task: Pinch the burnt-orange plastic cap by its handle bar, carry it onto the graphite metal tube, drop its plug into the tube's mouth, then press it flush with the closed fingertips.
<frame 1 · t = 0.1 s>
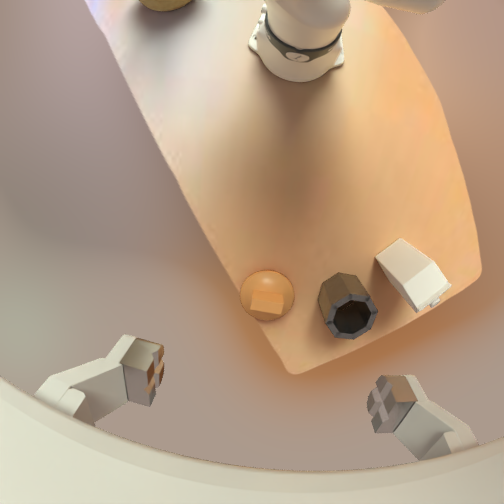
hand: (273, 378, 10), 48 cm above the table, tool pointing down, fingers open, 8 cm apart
graphite tube: (341, 294, 61), on the table
milk carton: (394, 259, 58), on the table
orange cap: (267, 290, 61), on the table
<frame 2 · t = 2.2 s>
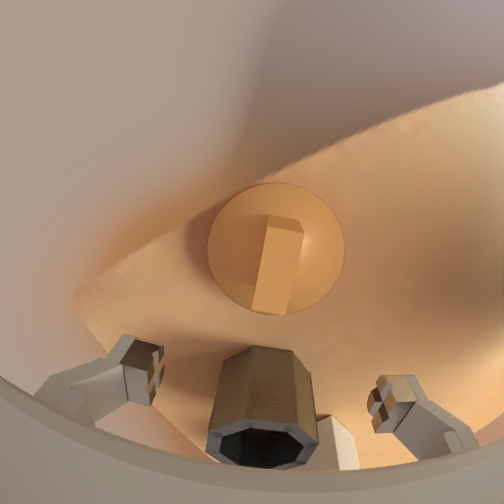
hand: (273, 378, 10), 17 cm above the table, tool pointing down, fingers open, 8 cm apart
graphite tube: (264, 380, 31), on the table
milk carton: (320, 434, 34), on the table
orange cap: (275, 243, 26), on the table
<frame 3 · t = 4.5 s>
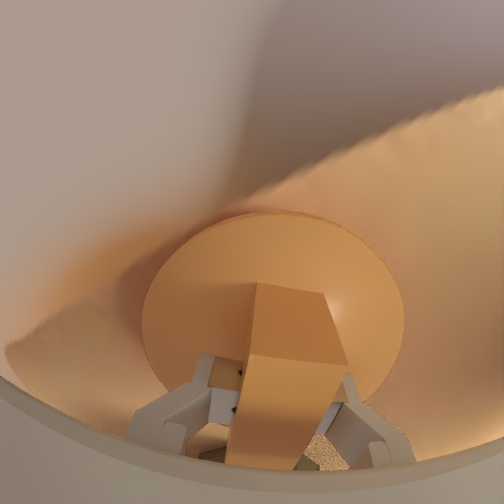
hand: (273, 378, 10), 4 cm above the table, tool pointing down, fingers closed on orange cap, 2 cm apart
graphite tube: (256, 472, 19), on the table
orange cap: (273, 316, 14), on the table, touching gripper
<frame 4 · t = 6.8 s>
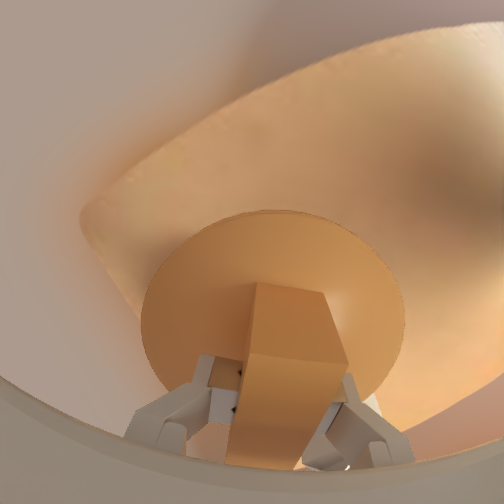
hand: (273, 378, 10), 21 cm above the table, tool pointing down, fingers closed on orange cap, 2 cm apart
milk carton: (330, 367, 35), on the table
orange cap: (273, 316, 14), point 17 cm above the table, touching gripper
when the fingers open (13 cm above the table, at t = 9.1 s): orange cap stays where it is, resting on graphite tube.
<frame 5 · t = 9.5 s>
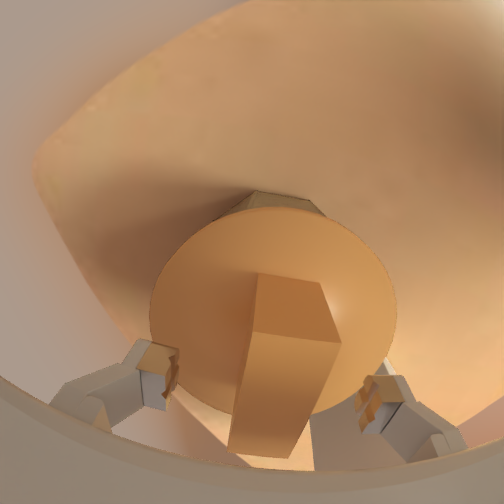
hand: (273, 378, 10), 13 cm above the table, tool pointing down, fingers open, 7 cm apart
graphite tube: (271, 257, 22), on the table
milk carton: (350, 368, 26), on the table
orange cap: (273, 307, 15), point 8 cm above the table, touching graphite tube
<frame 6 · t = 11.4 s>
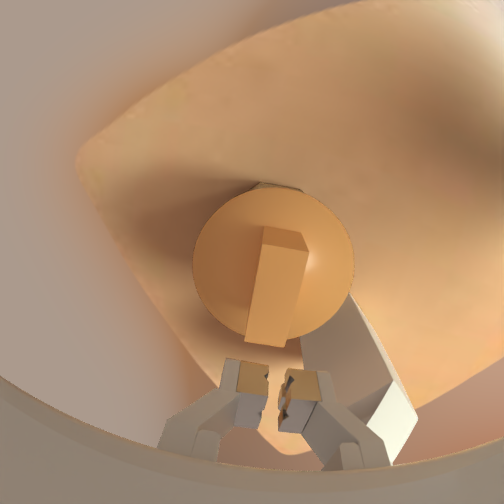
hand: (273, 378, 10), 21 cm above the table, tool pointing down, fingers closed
milk carton: (337, 326, 33), on the table
orange cap: (273, 257, 22), point 8 cm above the table, touching graphite tube
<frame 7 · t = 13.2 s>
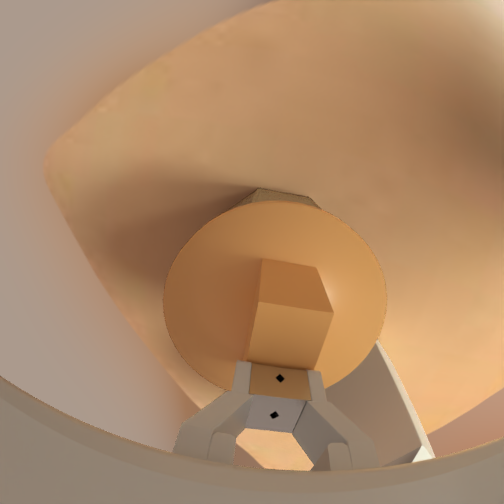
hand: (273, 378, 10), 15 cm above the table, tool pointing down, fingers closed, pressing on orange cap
graphite tube: (273, 250, 24), on the table
milk carton: (348, 358, 27), on the table
orange cap: (275, 293, 16), point 8 cm above the table, touching graphite tube, gripper
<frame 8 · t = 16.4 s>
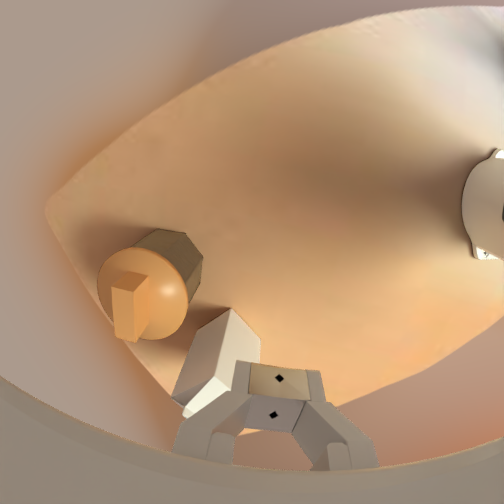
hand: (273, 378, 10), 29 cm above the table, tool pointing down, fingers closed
graphite tube: (168, 263, 40), on the table
milk carton: (228, 334, 43), on the table
orange cap: (148, 286, 33), point 8 cm above the table, touching graphite tube
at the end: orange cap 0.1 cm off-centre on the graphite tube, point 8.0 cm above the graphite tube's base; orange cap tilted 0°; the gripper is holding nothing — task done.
